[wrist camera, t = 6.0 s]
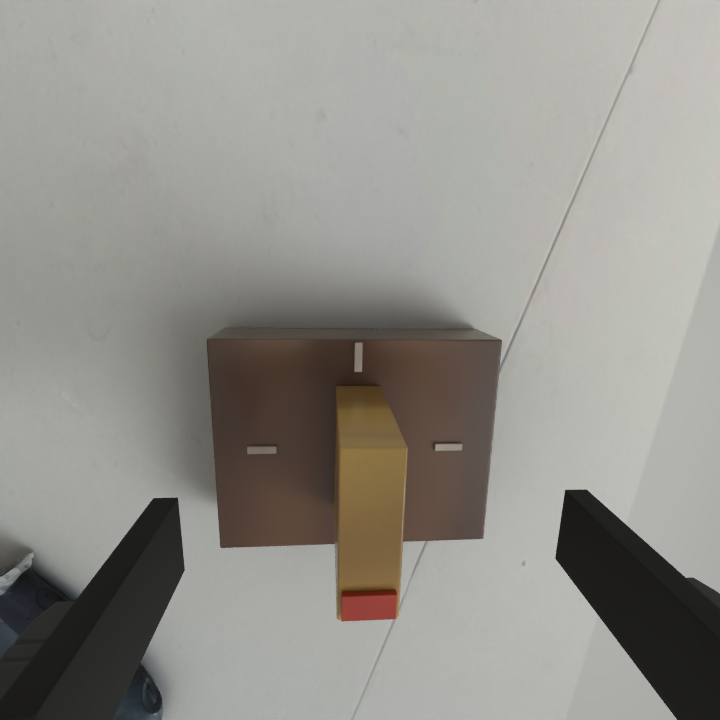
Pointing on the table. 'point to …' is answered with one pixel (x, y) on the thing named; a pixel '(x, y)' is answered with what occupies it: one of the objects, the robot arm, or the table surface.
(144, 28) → the table surface
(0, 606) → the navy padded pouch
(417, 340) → the plate
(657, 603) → the robot arm
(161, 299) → the table surface
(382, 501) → the thumb turn
